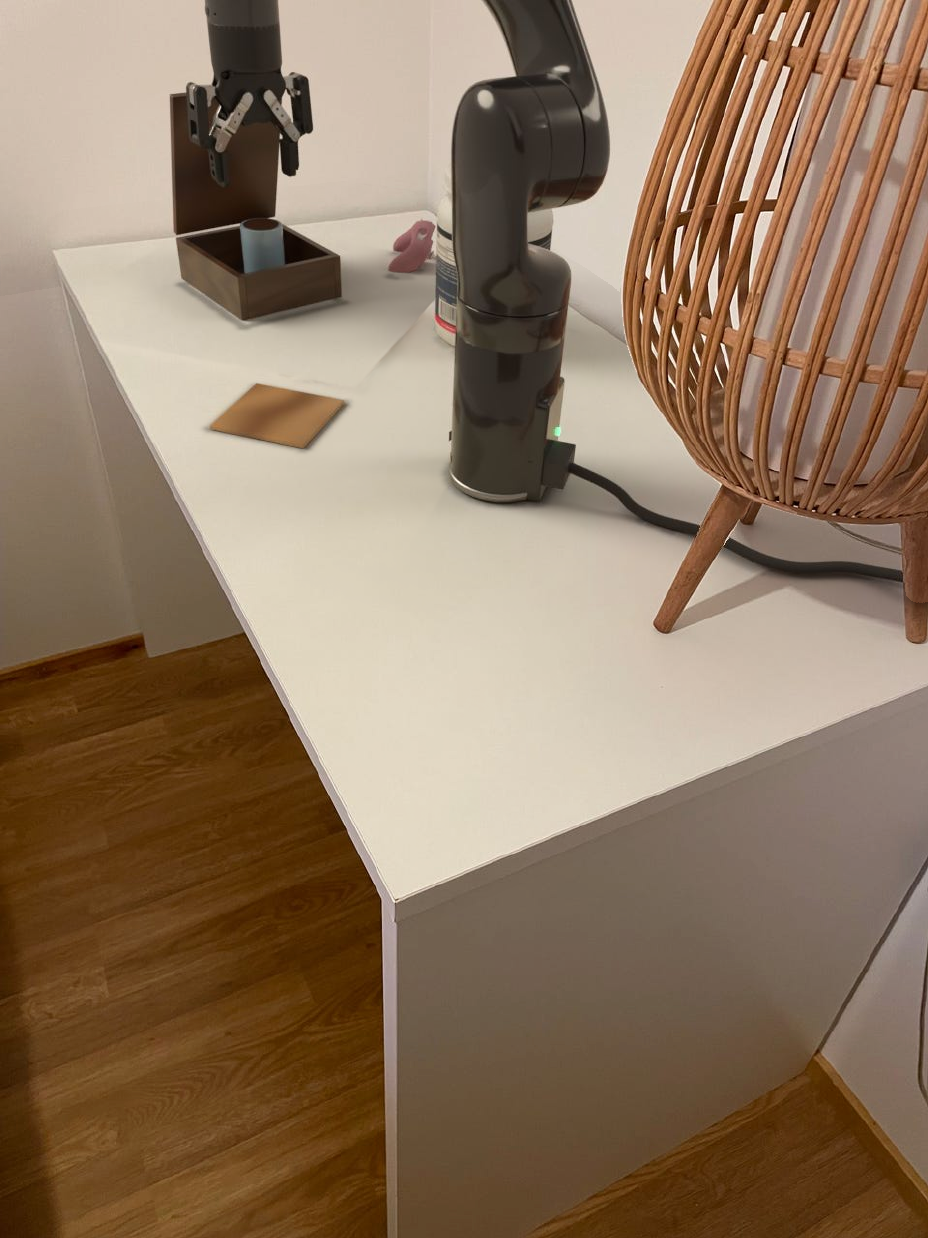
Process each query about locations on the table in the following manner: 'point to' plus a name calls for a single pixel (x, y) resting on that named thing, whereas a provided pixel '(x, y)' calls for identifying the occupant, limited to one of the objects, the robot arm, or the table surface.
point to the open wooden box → (258, 273)
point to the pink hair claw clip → (413, 247)
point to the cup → (262, 244)
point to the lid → (249, 172)
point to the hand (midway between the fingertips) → (257, 179)
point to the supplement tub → (445, 264)
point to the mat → (278, 415)
